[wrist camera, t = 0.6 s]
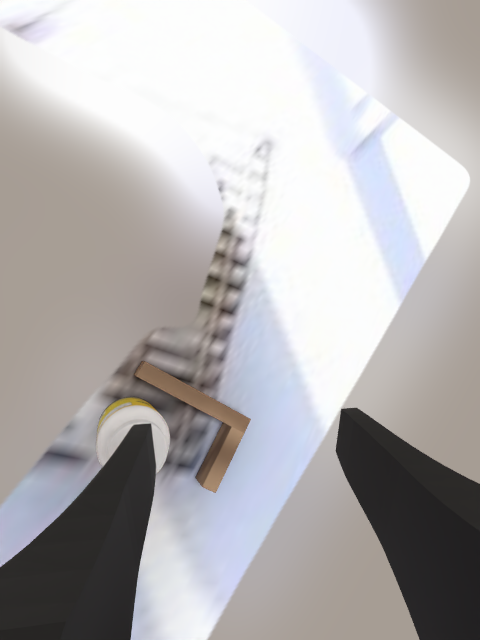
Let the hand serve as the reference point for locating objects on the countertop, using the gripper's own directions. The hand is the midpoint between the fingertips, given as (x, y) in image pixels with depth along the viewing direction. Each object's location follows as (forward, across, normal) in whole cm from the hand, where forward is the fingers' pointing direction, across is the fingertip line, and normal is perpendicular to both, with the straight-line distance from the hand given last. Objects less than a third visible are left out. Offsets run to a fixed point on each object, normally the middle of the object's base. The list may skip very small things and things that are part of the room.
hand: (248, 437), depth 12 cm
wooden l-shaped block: (+18, +5, +13) cm, 22 cm away
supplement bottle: (+17, +9, +12) cm, 23 cm away
